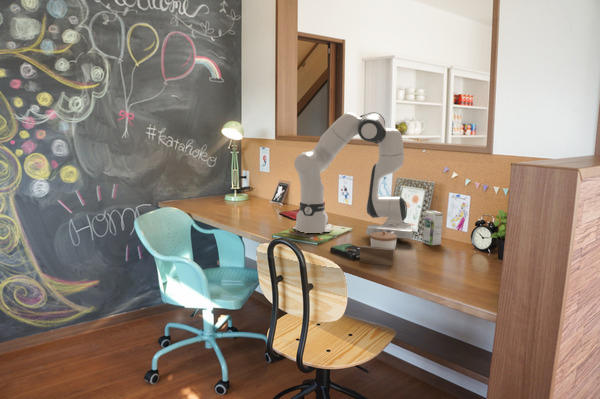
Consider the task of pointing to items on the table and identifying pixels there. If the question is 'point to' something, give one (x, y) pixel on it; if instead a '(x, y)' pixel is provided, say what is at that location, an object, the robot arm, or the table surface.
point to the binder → (290, 214)
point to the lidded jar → (383, 240)
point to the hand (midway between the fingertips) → (387, 235)
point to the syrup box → (433, 227)
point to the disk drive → (347, 251)
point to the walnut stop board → (376, 255)
